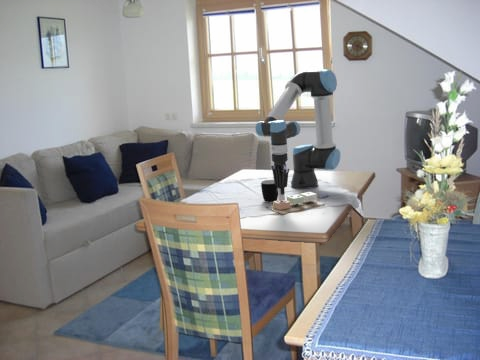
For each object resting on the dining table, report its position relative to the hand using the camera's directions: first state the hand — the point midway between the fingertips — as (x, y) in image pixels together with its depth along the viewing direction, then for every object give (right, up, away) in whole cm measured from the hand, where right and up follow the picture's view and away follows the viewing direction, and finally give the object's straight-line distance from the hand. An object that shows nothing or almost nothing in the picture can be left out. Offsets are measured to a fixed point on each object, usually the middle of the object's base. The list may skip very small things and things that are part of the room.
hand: (281, 200), depth 274 cm
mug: (-4, -1, +19) cm, 20 cm away
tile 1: (+14, 0, +8) cm, 16 cm away
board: (+7, -3, +5) cm, 9 cm away
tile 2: (+7, -1, +4) cm, 8 cm away
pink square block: (0, -4, +1) cm, 4 cm away
